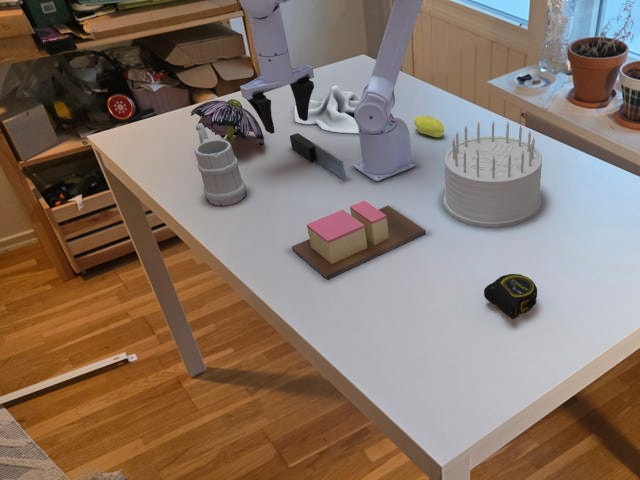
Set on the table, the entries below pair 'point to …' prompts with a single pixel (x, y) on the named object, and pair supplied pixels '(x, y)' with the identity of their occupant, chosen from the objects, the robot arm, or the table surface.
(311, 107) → the cloth
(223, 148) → the mug
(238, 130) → the decorative flower
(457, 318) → the table surface
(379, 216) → the cake slice
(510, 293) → the tape measure
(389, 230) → the board
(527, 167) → the cake
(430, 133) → the lemon
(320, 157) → the knife
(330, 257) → the cake
